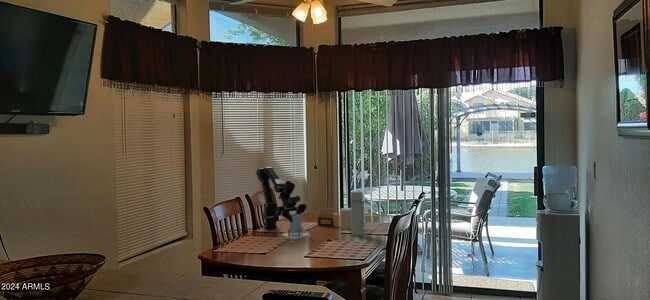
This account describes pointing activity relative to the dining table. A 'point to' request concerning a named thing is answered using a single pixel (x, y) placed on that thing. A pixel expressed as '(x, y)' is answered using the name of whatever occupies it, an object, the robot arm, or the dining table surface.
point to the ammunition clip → (325, 217)
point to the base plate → (296, 234)
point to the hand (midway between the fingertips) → (296, 221)
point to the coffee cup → (345, 218)
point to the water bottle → (357, 213)
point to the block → (295, 223)
